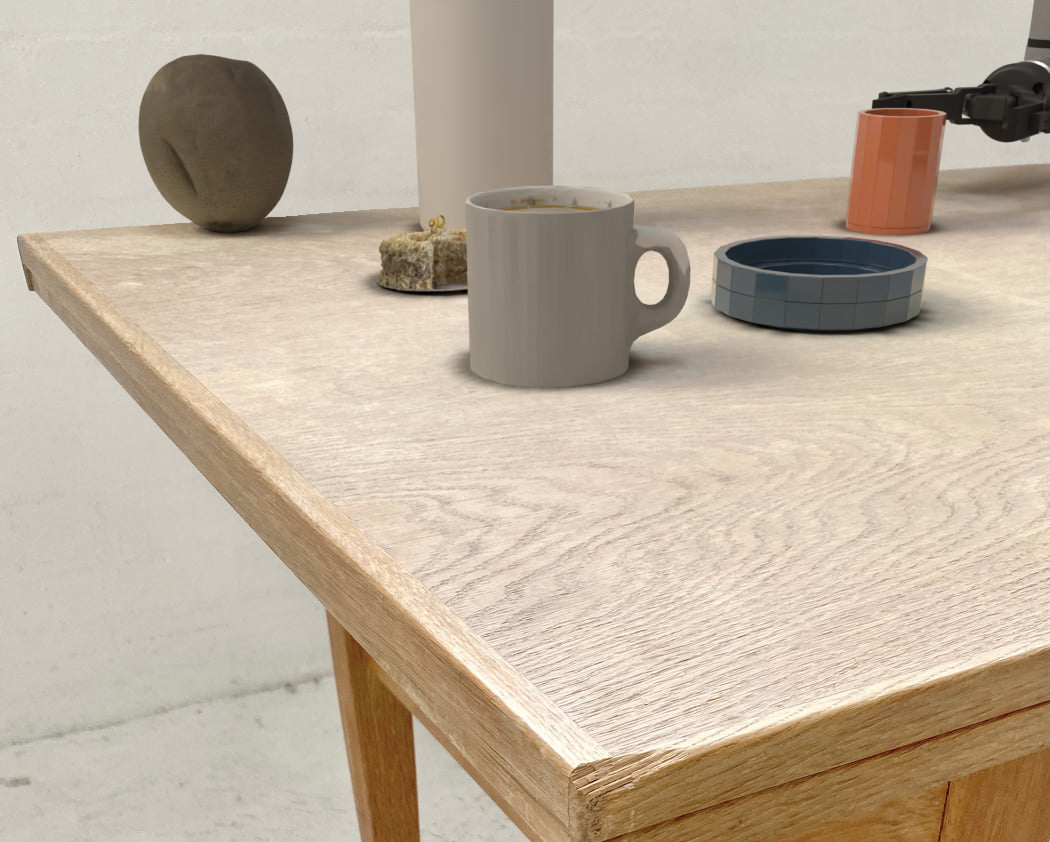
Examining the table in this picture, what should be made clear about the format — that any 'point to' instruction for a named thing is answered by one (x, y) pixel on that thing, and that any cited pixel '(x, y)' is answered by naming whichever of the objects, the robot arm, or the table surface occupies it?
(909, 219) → the tumbler
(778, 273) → the bowl
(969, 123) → the robot arm
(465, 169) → the cylinder vase
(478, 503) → the table surface
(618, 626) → the table surface
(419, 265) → the cake
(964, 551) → the table surface
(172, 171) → the brown rounded stone
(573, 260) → the coffee mug
